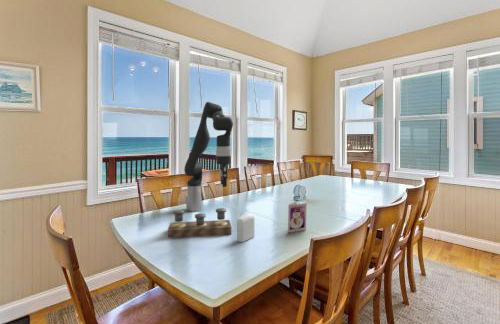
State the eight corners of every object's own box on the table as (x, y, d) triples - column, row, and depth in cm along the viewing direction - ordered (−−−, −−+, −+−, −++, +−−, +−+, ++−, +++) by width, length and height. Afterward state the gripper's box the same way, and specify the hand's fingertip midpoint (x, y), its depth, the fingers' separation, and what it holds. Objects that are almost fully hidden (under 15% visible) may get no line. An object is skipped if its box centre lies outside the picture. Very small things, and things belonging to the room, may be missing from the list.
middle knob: (194, 226, 138) (194, 216, 138) (195, 222, 143) (194, 213, 143) (205, 225, 139) (205, 216, 138) (205, 222, 144) (205, 213, 144)
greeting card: (288, 233, 141) (289, 205, 139) (281, 228, 148) (282, 202, 146) (306, 230, 145) (307, 203, 144) (299, 226, 152) (299, 200, 151)
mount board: (167, 238, 133) (167, 229, 133) (170, 229, 145) (170, 222, 144) (231, 234, 138) (231, 226, 138) (229, 226, 150) (229, 219, 150)
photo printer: (242, 243, 127) (242, 217, 126) (235, 240, 130) (235, 216, 129) (255, 237, 135) (256, 213, 134) (249, 235, 138) (249, 211, 137)
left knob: (172, 222, 136) (172, 212, 135) (173, 219, 141) (173, 210, 141) (183, 222, 137) (183, 212, 136) (184, 218, 142) (184, 209, 142)
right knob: (215, 220, 140) (215, 211, 139) (215, 217, 145) (215, 208, 145) (226, 220, 141) (226, 210, 140) (225, 216, 146) (225, 207, 146)
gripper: (232, 155, 135) (232, 187, 136) (228, 154, 149) (228, 182, 150) (217, 156, 133) (217, 188, 135) (215, 154, 147) (215, 183, 149)
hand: (223, 185), depth 142 cm, fingers open, 8 cm apart
